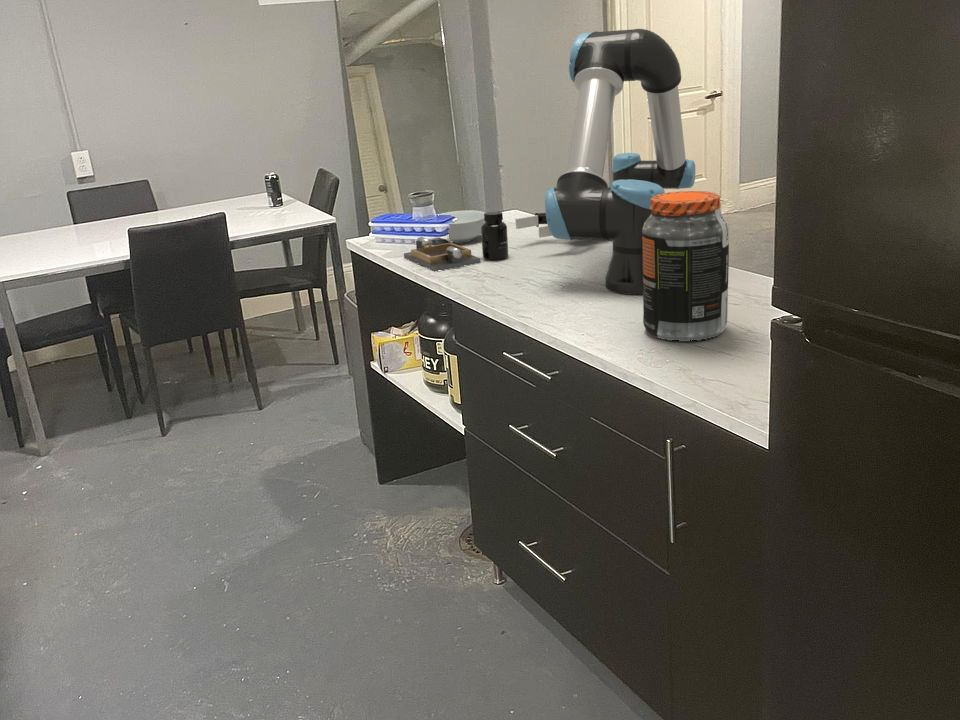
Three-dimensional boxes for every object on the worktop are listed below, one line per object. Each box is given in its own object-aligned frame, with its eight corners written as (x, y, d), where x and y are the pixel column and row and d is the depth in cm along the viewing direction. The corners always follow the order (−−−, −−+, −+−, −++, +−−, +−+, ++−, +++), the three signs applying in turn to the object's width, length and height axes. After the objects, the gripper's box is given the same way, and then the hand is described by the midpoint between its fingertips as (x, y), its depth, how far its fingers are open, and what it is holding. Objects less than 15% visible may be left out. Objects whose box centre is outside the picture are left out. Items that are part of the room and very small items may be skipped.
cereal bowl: (422, 239, 266) (420, 215, 263) (473, 231, 272) (472, 207, 270) (445, 250, 251) (443, 225, 249) (498, 240, 257) (497, 216, 255)
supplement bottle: (508, 260, 235) (506, 214, 231) (482, 262, 235) (479, 216, 231) (508, 254, 241) (505, 209, 237) (483, 255, 241) (480, 211, 237)
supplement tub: (742, 325, 173) (746, 191, 165) (701, 349, 163) (703, 207, 154) (669, 313, 184) (669, 186, 175) (626, 335, 173) (624, 201, 164)
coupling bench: (481, 263, 234) (480, 244, 232) (436, 272, 229) (434, 253, 227) (446, 249, 251) (445, 232, 250) (403, 257, 246) (402, 240, 244)
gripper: (621, 237, 238) (550, 250, 230) (574, 222, 259) (508, 233, 252) (621, 209, 235) (549, 221, 227) (573, 196, 257) (506, 207, 249)
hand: (527, 227), depth 239 cm, fingers open, 13 cm apart
